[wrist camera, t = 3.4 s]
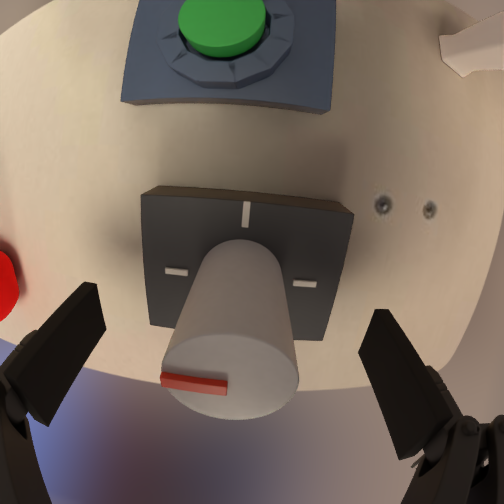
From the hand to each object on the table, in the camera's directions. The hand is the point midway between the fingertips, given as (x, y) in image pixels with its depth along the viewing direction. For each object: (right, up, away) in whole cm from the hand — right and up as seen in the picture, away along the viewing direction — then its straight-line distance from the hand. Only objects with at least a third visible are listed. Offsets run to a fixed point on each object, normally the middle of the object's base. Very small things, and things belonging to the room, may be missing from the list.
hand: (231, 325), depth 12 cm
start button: (0, +15, -2) cm, 15 cm away
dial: (0, +2, +4) cm, 4 cm away
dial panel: (0, +3, +7) cm, 8 cm away
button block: (0, +16, +2) cm, 16 cm away
